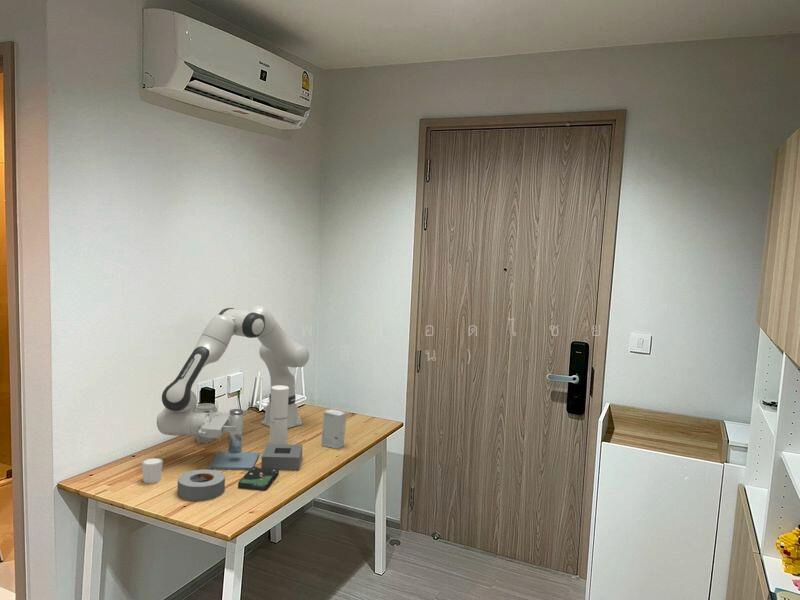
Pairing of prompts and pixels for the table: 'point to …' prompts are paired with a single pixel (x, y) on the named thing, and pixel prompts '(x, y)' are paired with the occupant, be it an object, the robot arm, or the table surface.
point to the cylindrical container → (279, 414)
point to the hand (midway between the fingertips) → (238, 425)
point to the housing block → (282, 456)
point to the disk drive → (258, 478)
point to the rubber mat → (234, 461)
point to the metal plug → (235, 436)
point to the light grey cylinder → (152, 470)
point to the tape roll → (201, 485)
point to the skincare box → (333, 428)
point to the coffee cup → (203, 408)
